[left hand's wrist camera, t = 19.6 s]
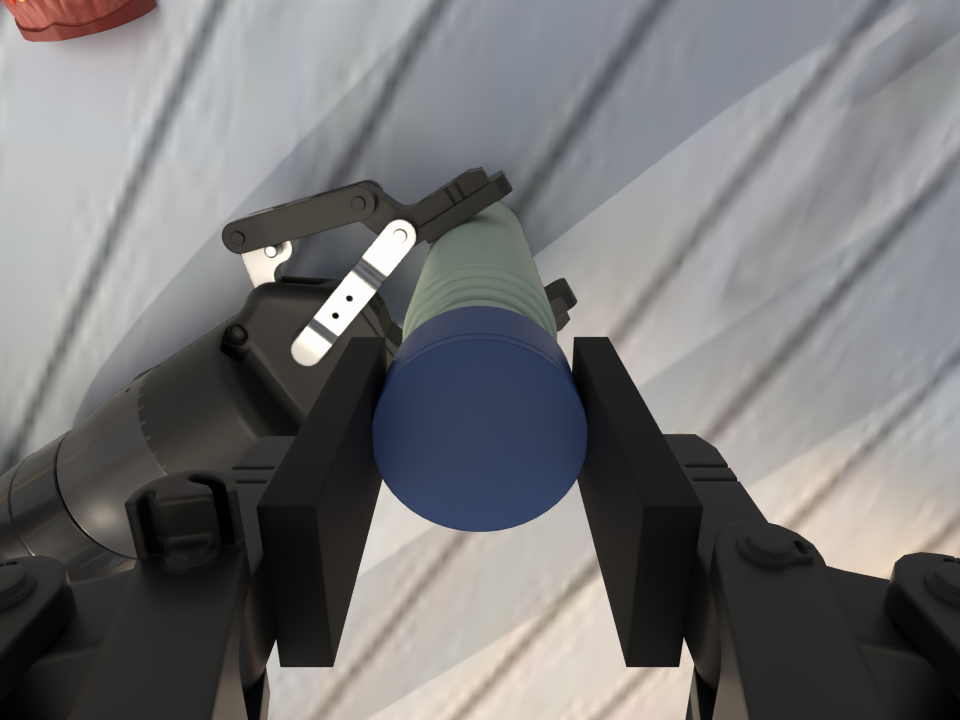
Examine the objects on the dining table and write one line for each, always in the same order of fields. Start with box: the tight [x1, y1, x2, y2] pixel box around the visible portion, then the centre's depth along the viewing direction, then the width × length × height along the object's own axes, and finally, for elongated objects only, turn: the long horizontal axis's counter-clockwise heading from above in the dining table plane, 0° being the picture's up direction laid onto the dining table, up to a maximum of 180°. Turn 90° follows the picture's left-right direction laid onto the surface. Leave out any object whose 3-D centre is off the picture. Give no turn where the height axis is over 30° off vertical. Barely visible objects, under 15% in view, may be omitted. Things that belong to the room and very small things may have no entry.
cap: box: [372, 306, 588, 532], centre depth 14 cm, size 4×4×2 cm
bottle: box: [402, 201, 557, 343], centre depth 22 cm, size 4×4×19 cm
